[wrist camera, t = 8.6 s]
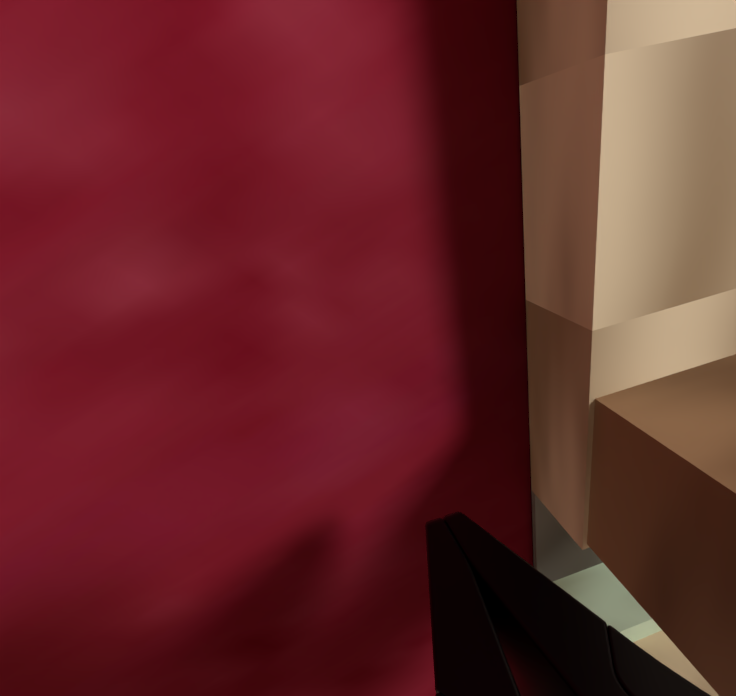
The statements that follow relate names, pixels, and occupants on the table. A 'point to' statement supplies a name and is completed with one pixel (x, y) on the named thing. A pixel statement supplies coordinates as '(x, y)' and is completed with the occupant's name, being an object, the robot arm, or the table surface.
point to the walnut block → (673, 508)
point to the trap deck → (620, 245)
